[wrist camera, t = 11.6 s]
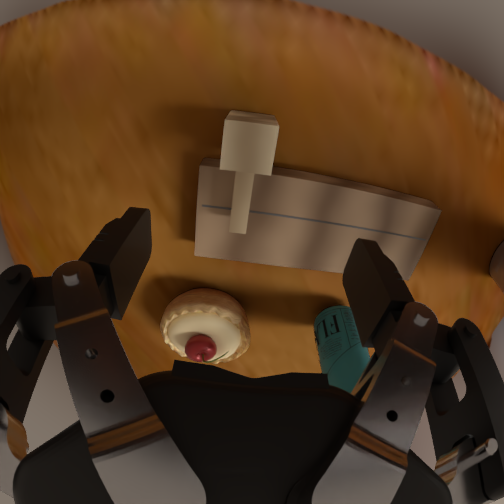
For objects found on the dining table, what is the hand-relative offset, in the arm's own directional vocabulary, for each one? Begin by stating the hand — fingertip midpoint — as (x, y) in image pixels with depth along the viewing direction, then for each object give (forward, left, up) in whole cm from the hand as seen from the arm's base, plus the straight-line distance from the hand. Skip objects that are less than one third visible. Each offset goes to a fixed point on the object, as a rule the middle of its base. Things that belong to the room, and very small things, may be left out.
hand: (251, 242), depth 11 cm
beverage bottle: (-14, +22, -19) cm, 32 cm away
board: (-8, +8, -18) cm, 21 cm away
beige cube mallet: (0, +3, -18) cm, 18 cm away
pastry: (+3, +24, -19) cm, 31 cm away
